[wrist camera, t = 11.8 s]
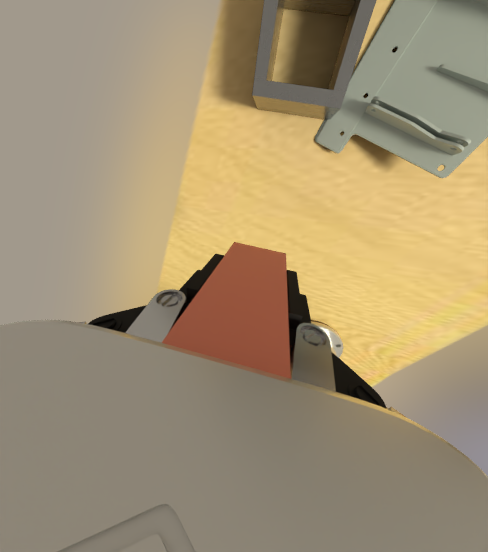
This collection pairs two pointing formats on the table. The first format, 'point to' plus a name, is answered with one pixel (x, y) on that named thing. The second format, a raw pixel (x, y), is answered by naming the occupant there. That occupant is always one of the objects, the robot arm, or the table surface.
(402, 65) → the metal bracket
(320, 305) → the table surface
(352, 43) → the grey socket fixture
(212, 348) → the red rectangular block
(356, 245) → the table surface
